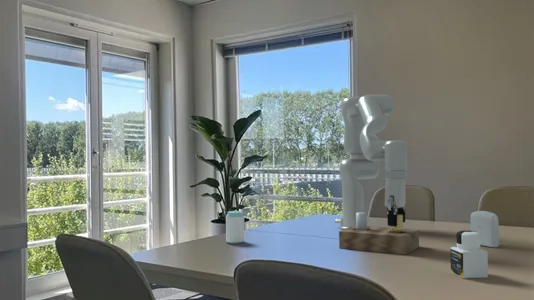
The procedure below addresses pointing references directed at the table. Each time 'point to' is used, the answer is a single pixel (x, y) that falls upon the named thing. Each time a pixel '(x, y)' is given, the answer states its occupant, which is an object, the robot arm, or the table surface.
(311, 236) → the table surface
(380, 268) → the table surface
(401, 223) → the brass pin
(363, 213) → the grey pin
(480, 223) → the photo printer
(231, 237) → the can
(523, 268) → the table surface
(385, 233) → the bore block
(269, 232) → the table surface
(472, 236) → the medicine bottle
